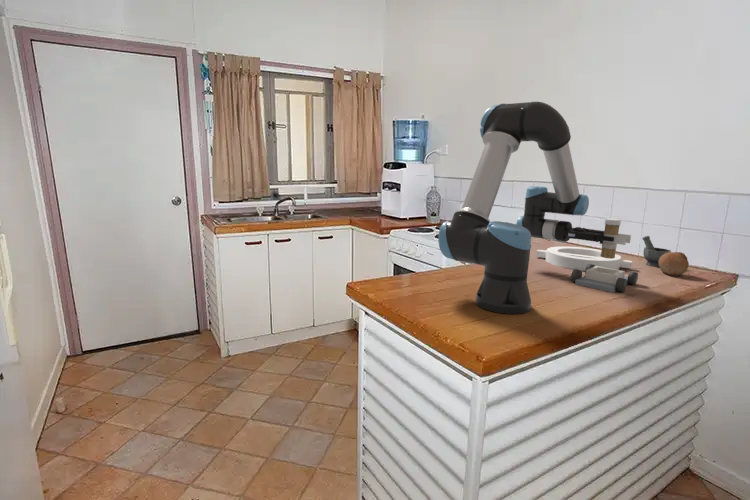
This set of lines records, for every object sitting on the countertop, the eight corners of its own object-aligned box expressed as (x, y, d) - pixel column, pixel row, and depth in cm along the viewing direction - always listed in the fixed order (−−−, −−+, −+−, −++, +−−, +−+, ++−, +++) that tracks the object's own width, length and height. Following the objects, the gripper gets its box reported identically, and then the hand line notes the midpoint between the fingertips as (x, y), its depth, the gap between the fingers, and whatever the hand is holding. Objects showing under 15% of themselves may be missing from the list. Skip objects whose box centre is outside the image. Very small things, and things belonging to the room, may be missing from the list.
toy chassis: (619, 294, 133) (622, 280, 132) (569, 282, 145) (570, 270, 144) (637, 283, 147) (639, 270, 146) (590, 273, 158) (591, 262, 157)
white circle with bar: (532, 257, 186) (533, 247, 185) (585, 256, 192) (586, 245, 191) (576, 273, 159) (577, 261, 158) (635, 271, 166) (637, 259, 165)
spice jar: (603, 258, 142) (609, 219, 139) (597, 255, 146) (603, 217, 144) (617, 259, 142) (623, 220, 139) (611, 256, 146) (616, 218, 143)
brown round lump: (680, 282, 161) (699, 261, 157) (670, 279, 155) (689, 257, 152) (658, 268, 168) (675, 248, 164) (648, 265, 162) (665, 243, 159)
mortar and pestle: (672, 266, 174) (677, 238, 172) (663, 269, 169) (668, 240, 166) (643, 261, 183) (647, 234, 181) (633, 263, 178) (638, 236, 175)
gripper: (566, 237, 162) (633, 247, 146) (546, 243, 150) (618, 254, 134) (568, 218, 160) (637, 226, 144) (548, 222, 149) (621, 231, 132)
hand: (627, 239), depth 139 cm, fingers closed on spice jar, 4 cm apart
